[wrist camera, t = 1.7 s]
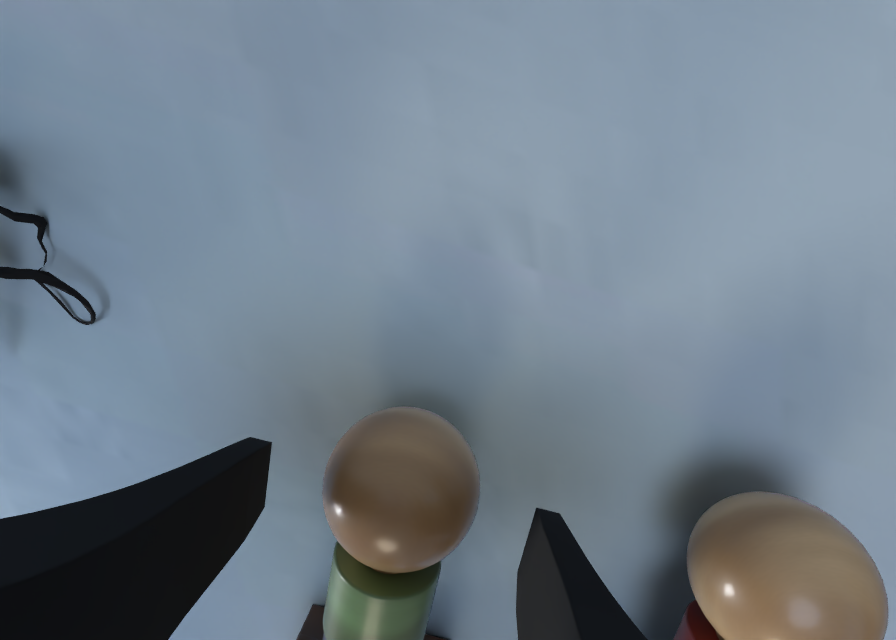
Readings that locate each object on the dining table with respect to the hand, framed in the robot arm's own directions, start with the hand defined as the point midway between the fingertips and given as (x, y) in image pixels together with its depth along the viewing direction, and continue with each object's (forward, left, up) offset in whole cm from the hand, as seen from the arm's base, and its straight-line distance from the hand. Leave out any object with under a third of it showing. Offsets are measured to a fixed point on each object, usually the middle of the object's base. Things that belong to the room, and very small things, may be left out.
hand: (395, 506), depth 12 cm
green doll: (-3, 0, -3) cm, 4 cm away
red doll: (-3, -11, -3) cm, 11 cm away
